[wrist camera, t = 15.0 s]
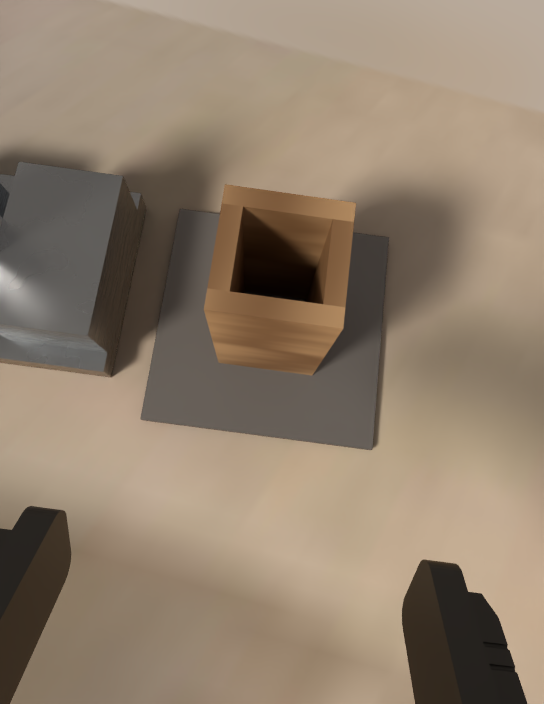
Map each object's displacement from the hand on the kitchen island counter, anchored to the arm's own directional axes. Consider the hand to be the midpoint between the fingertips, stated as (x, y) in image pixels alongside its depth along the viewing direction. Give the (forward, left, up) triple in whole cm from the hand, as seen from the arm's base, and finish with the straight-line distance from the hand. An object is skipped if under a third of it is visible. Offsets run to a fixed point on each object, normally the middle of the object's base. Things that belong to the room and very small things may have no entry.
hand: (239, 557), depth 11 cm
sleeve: (0, -10, -14) cm, 17 cm away
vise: (+16, -11, -14) cm, 24 cm away
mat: (0, -10, -14) cm, 17 cm away
